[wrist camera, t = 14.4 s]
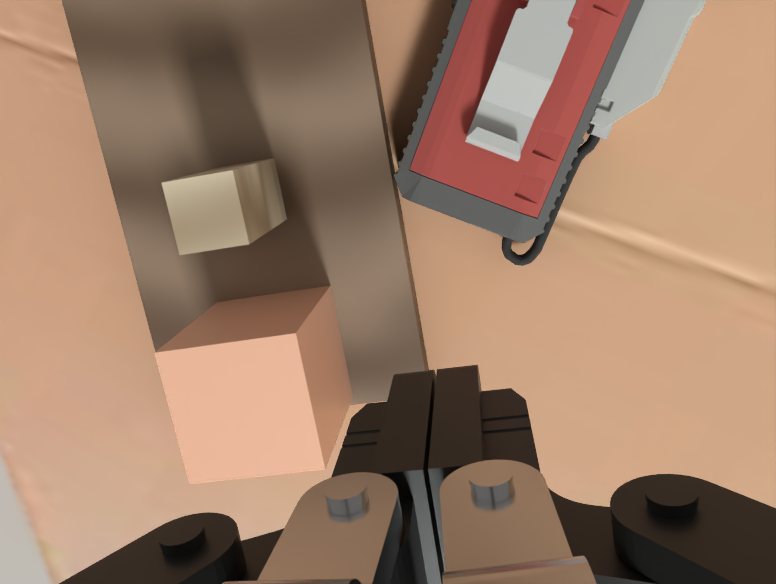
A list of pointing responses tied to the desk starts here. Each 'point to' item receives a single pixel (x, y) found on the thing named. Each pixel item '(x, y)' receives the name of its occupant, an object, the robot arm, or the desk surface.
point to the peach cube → (257, 386)
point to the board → (246, 114)
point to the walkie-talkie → (532, 104)
